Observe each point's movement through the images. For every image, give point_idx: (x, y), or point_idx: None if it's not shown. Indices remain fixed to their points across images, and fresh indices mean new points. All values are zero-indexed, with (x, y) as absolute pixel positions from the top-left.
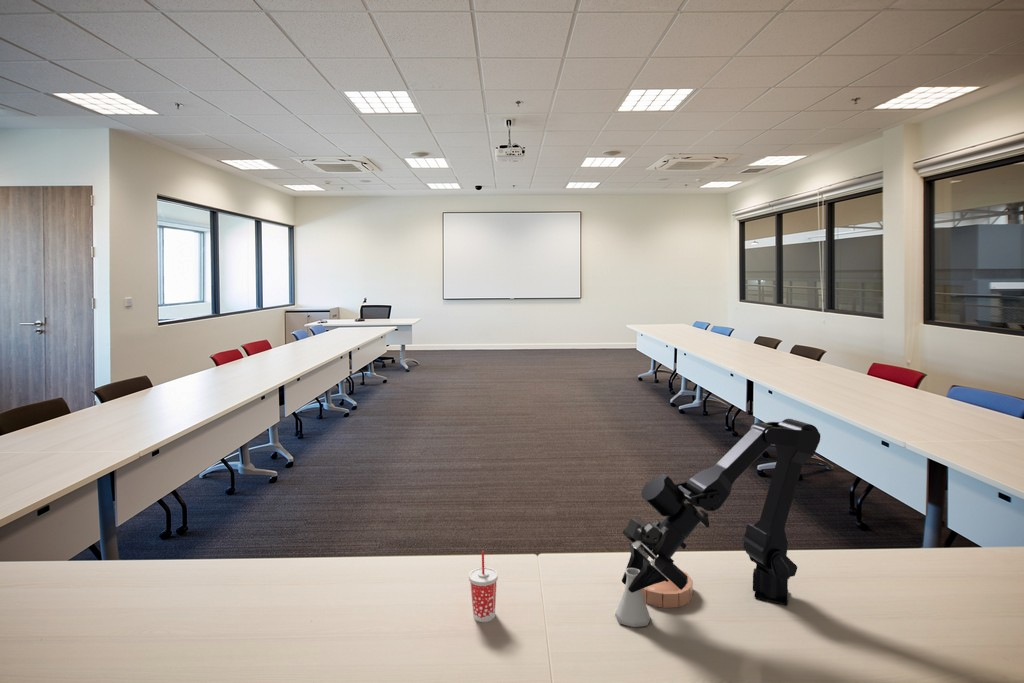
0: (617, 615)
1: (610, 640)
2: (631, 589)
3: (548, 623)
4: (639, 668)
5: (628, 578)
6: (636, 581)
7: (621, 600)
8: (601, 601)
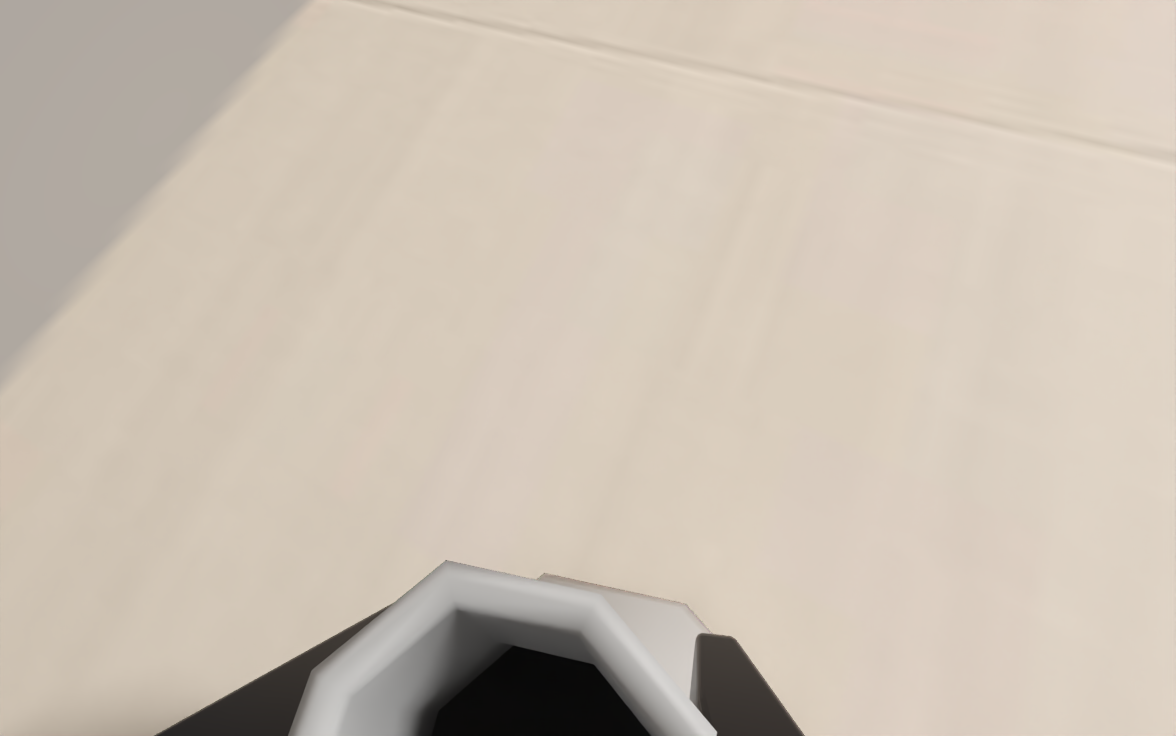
0: (620, 592)
1: (394, 396)
2: None
3: (765, 96)
4: (26, 436)
5: (478, 626)
6: (232, 694)
7: (632, 626)
8: (992, 615)
